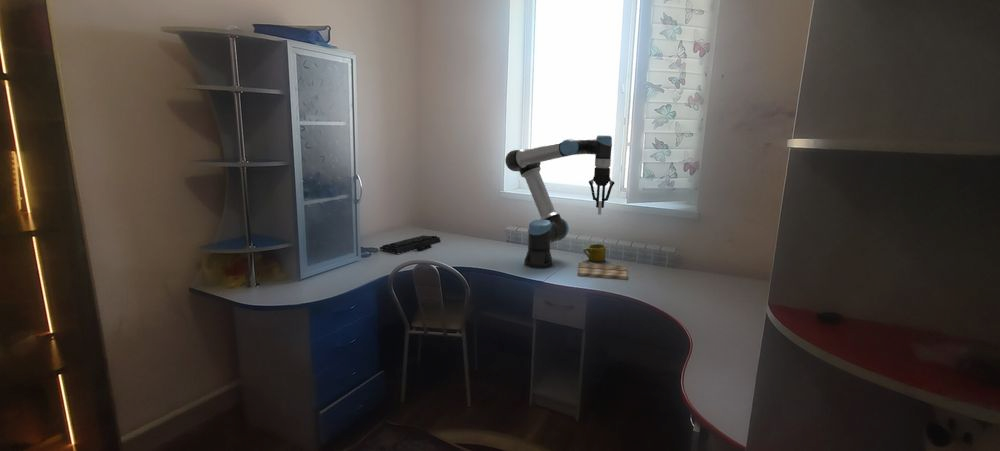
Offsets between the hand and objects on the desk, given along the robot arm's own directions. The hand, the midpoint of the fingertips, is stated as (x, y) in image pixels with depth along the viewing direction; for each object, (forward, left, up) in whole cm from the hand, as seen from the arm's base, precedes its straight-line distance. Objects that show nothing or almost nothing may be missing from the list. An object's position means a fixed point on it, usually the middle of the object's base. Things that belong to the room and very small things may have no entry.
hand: (599, 214), depth 241 cm
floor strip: (+3, -8, -29) cm, 31 cm away
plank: (+3, +1, -29) cm, 29 cm away
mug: (-1, +18, -30) cm, 35 cm away
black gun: (-106, +20, -30) cm, 112 cm away
